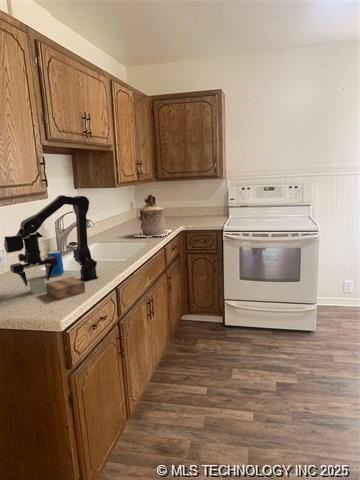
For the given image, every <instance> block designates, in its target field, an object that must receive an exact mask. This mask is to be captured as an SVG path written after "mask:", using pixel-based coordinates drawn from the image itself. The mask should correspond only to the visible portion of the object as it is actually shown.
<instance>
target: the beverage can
mask: <svg viewBox="0 0 360 480" xmlns="http://www.w3.org/2000/svg"><path fill="white" fill-rule="evenodd" d="M51 256H53V257H55V258H57V260H58V264H55V266H54V267H53V269H52V272H51V275H50V276H52V277H59V276H62V275H63V274H65V273H64V272H65V271H64V264H63V263H64V261H63V256H62V252H61V251H60V250H53V251H51V250H50V251H49V252H48V255H47V257H51Z"/></svg>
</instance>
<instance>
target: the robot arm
mask: <svg viewBox="0 0 360 480" xmlns="http://www.w3.org/2000/svg"><path fill="white" fill-rule="evenodd" d="M65 205H68V206H69V205H70V206H72V209H73V212H74V214H75V217H76V218H75V221H76V223H75V224H76V244H77V245H76V248H74V249H72V252H73V257H72V258H73V259H74V261H75V262H76V263H78V264H79V266H80V270H79V273H80V279H81V280H82V281H84V282H88V281H92V280H95V279H99V276H98V275H97V264H98V262H97V261H96V260H94V258H92V255H91V250H90V248H89V245H88V230H87V229H88V228H87V225H88V224H87V216H88V215H87V214H88V212H89V208H90V200H89V198H88V197H87V196H86V195H85V196H84V195H75V196H67V195H62V194H60V195H58V196H57V197H56V198H55V199H54V200H53V201H51V202H50V203H48V205H46V206H45V207H44V208H42V209H41V210H40V211H38V212H37V213H35V214H33V215H31V216H29V217H27V218H25V219H23V220H22V221H21V222H20V227H19V230H18V231H17V233H16V235H10V236H9V235H8V236H4V237H3V238H4V239H3V241H4V243H3V246H4V250H5V253H7V254H10V253H15V252H21V251H22V250H24V253H19V254H18V255H17V257H18V258H17V259H18V261H19V262H17V263H14V264H11V265H10V266H9V270H10V272H12V273H13V274H16V275H19V277H20V278H21V279H22V281H23V284H24V285H25V286H26V287H28V281H27V275H26V272H25V271H24V270H25V269H29V268H35V267H38V266H44V267H45V277H46V281H50V278H51V276H52V275H51V272H52V269H53V267H54V266H55V264H58V260H57V258H55V257H53V256H51V257H48V256H47V257H44V259H42V257H41V253H42V252H41V251H42V250H40V243H39V238H43V237H44V236H43V234H40V232H39V231H38V230H39V229H40V228H41V226H42V225H43V223H44V222H45V221H47V219H48V218H50V217H51V216H52V215H54V214H55V213H56V212H57V211H58V210H60V209H61V208H63V206H65ZM20 262H23V264H22V263H20Z"/></svg>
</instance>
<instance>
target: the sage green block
mask: <svg viewBox="0 0 360 480" xmlns="http://www.w3.org/2000/svg"><path fill="white" fill-rule="evenodd" d="M45 280H46V279H43V278H41V277H40V278H36V279H32V280H28V282H29V290H30V293H32V294H34V295H36V294H41V293H44V292H47V290H46V281H45Z"/></svg>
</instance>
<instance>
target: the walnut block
mask: <svg viewBox="0 0 360 480" xmlns="http://www.w3.org/2000/svg"><path fill="white" fill-rule="evenodd" d="M45 287H46V294H47V295H48V296H50V297H52V298H53V299H55V300H57V301H60V300H61V301H62V300H64V299H67V298H71V297H74V296H79V295H81V294H82V295H83V294H85V293H86V287H85V281H84V280H82V279H81V280H80V279H78V278H76V277H73V276H70V277H66V278H61V279H58V280H54V281H50V282H45Z"/></svg>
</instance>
